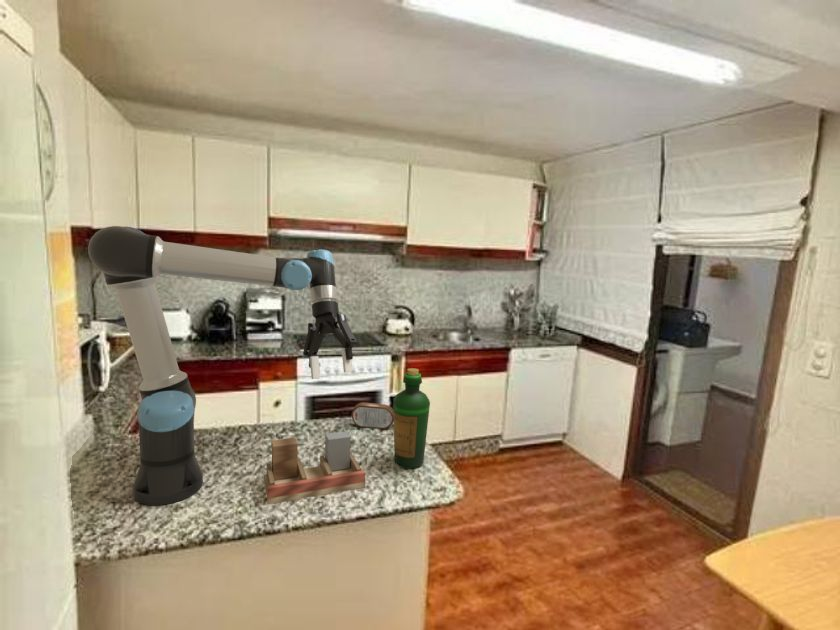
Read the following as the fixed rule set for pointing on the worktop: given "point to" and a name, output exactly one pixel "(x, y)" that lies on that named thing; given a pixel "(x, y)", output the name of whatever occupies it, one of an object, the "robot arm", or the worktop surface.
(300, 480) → the wooden compartment tray
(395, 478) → the worktop surface
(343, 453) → the grey block
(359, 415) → the tin
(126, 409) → the worktop surface
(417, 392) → the bottle
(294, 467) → the brown box
